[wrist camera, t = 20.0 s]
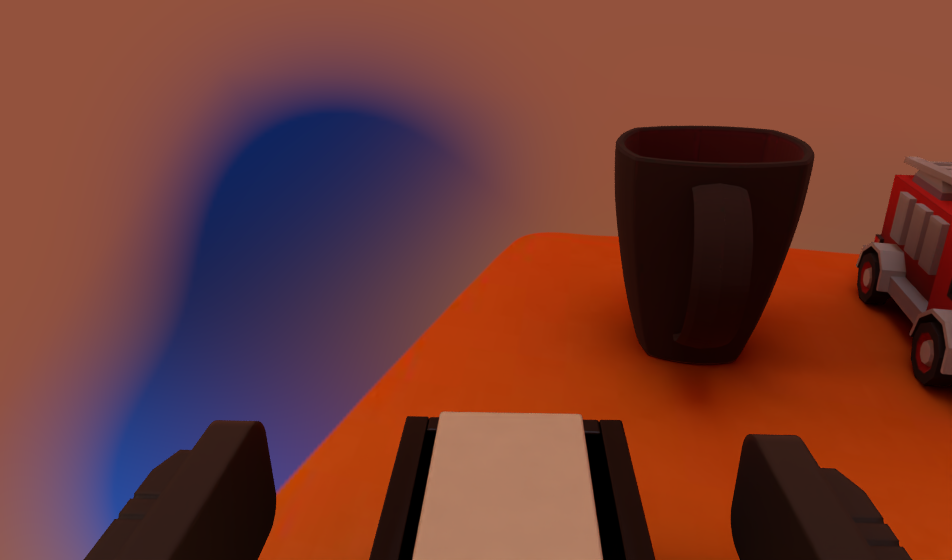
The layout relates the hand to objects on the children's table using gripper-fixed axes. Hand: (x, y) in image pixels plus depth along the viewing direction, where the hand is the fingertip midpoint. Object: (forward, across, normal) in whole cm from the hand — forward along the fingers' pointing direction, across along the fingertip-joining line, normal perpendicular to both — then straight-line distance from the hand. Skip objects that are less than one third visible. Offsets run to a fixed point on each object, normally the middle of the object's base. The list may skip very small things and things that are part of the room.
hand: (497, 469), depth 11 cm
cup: (+25, -10, +12) cm, 30 cm away
